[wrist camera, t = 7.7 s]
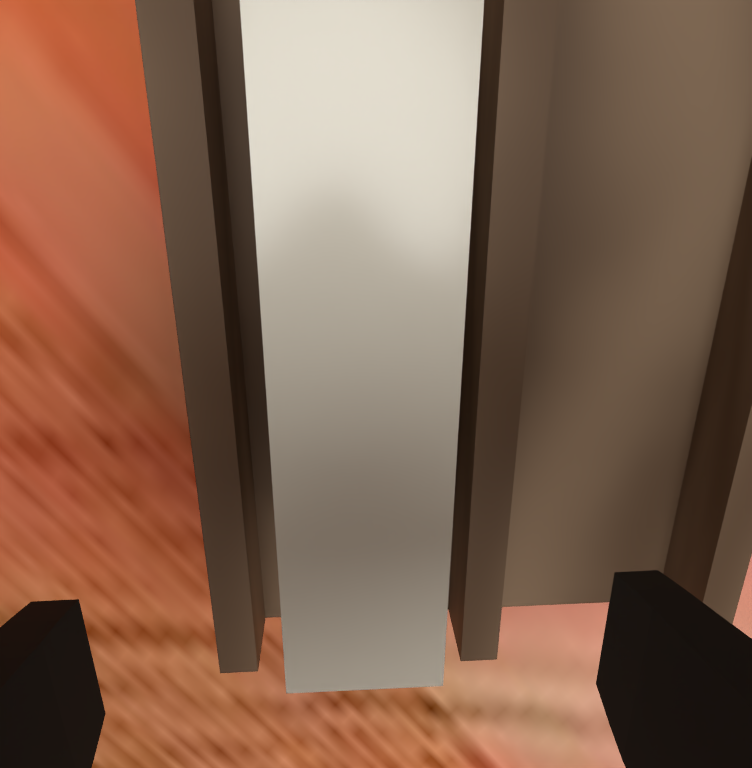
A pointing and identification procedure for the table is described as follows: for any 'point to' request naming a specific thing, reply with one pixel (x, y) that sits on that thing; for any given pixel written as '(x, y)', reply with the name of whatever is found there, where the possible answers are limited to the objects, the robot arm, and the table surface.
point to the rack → (511, 307)
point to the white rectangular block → (362, 319)
